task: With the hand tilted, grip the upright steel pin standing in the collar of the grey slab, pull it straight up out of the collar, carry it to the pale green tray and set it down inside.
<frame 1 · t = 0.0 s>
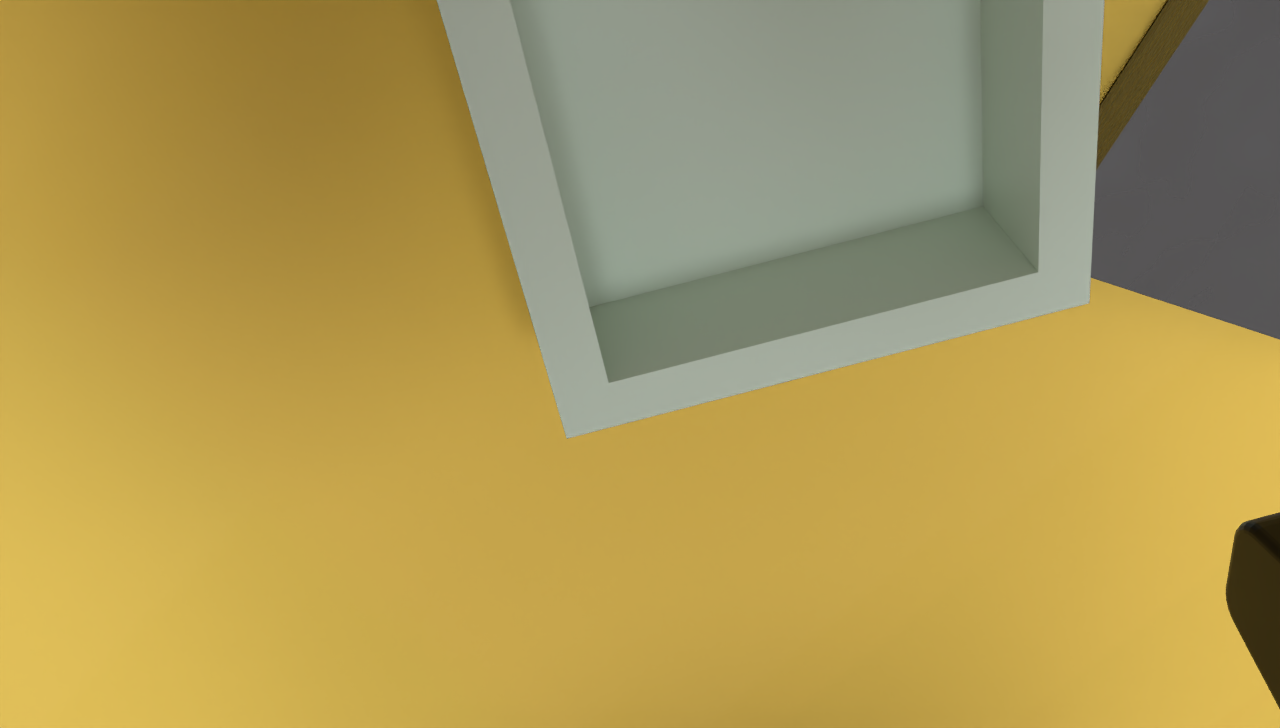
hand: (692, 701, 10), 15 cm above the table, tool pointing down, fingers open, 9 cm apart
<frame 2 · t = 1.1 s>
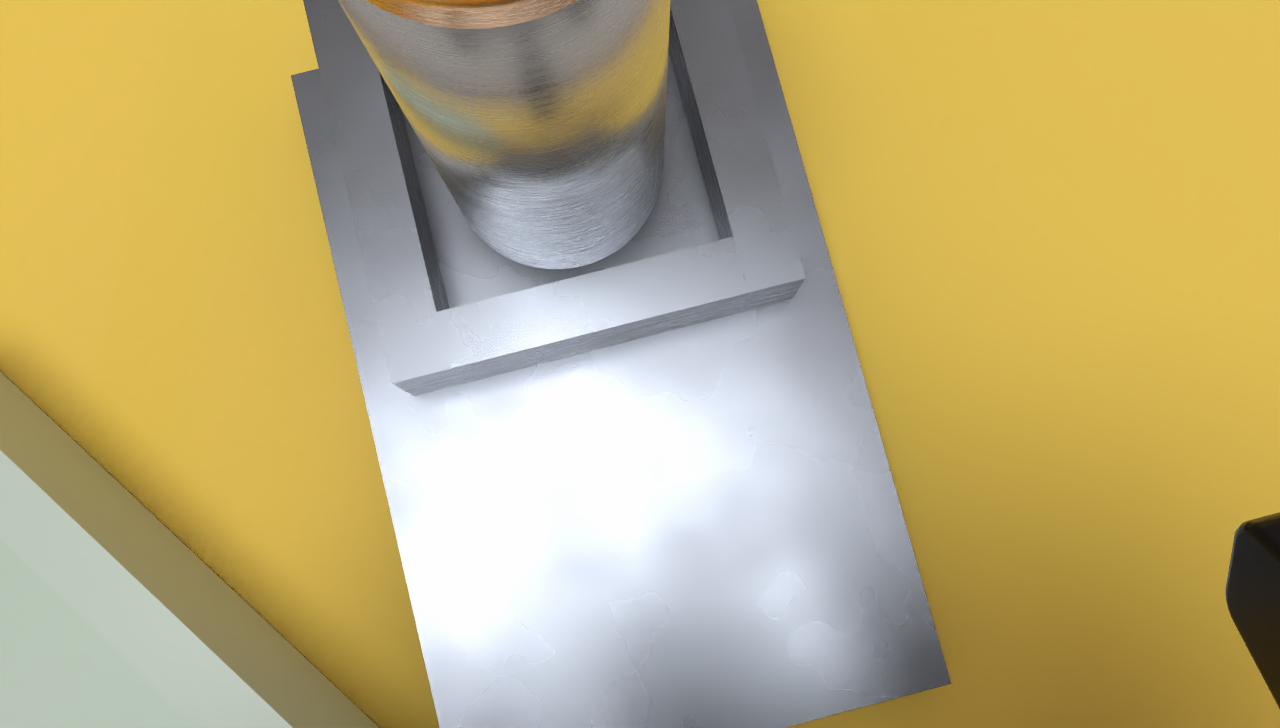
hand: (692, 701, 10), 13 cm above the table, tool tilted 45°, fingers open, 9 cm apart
grey slab: (560, 180, 24), on the table
pin: (557, 165, 23), point 1 cm above the table, touching grey slab
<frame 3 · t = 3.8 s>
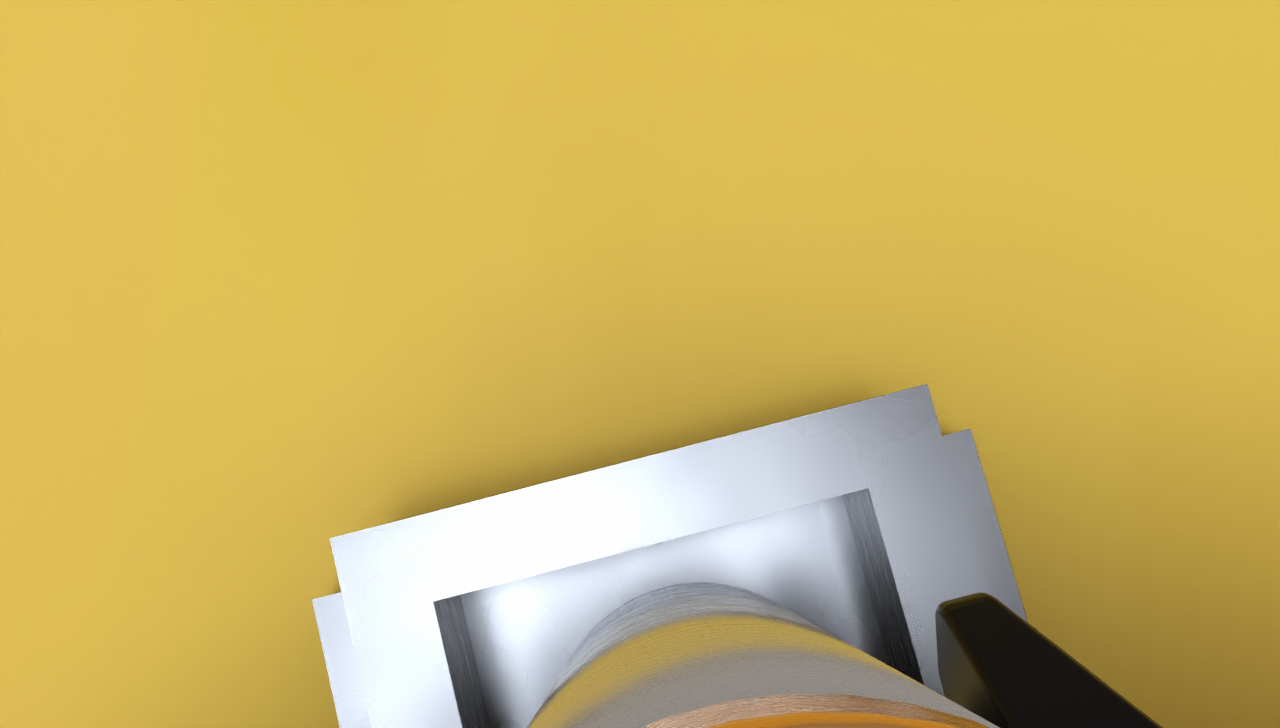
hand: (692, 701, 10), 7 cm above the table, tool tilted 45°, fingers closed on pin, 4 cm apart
grey slab: (698, 727, 17), on the table
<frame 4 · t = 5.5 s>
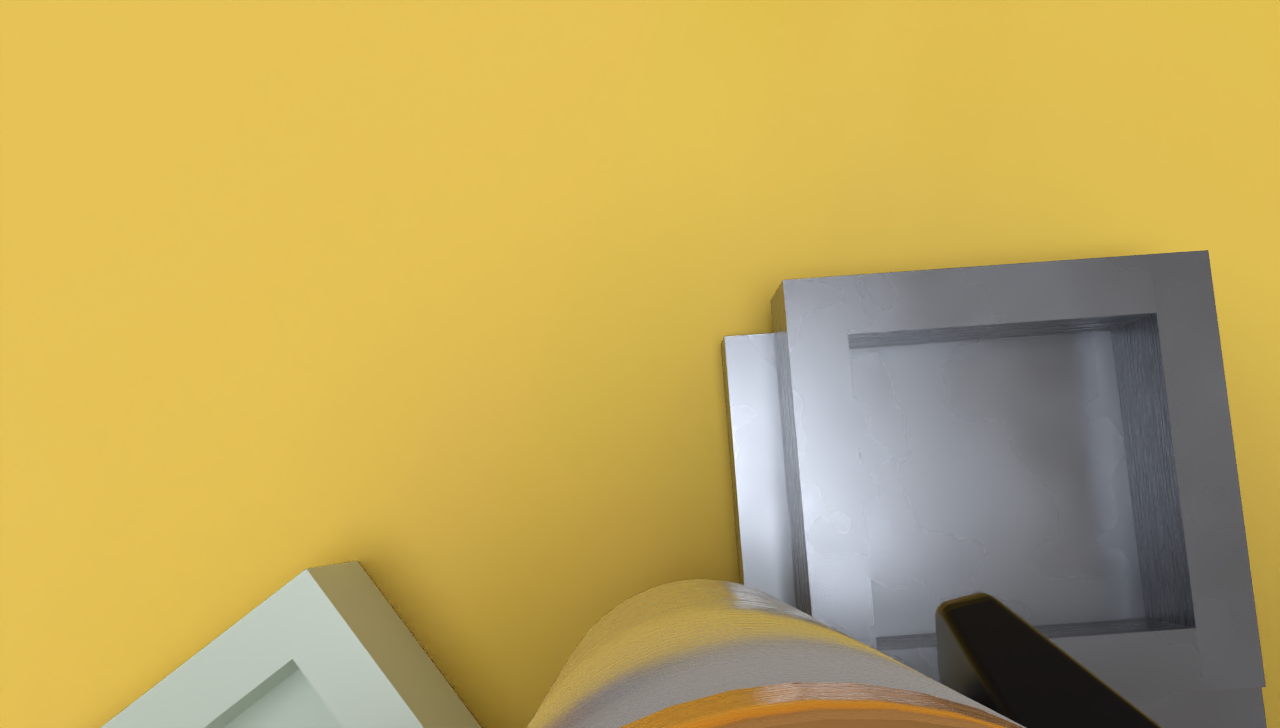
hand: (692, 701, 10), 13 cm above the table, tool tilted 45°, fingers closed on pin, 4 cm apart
grey slab: (970, 483, 23), on the table
when the fingers open (9 cm above the table, at t = 7.2 s): pin drops 1 cm, resting on tray.
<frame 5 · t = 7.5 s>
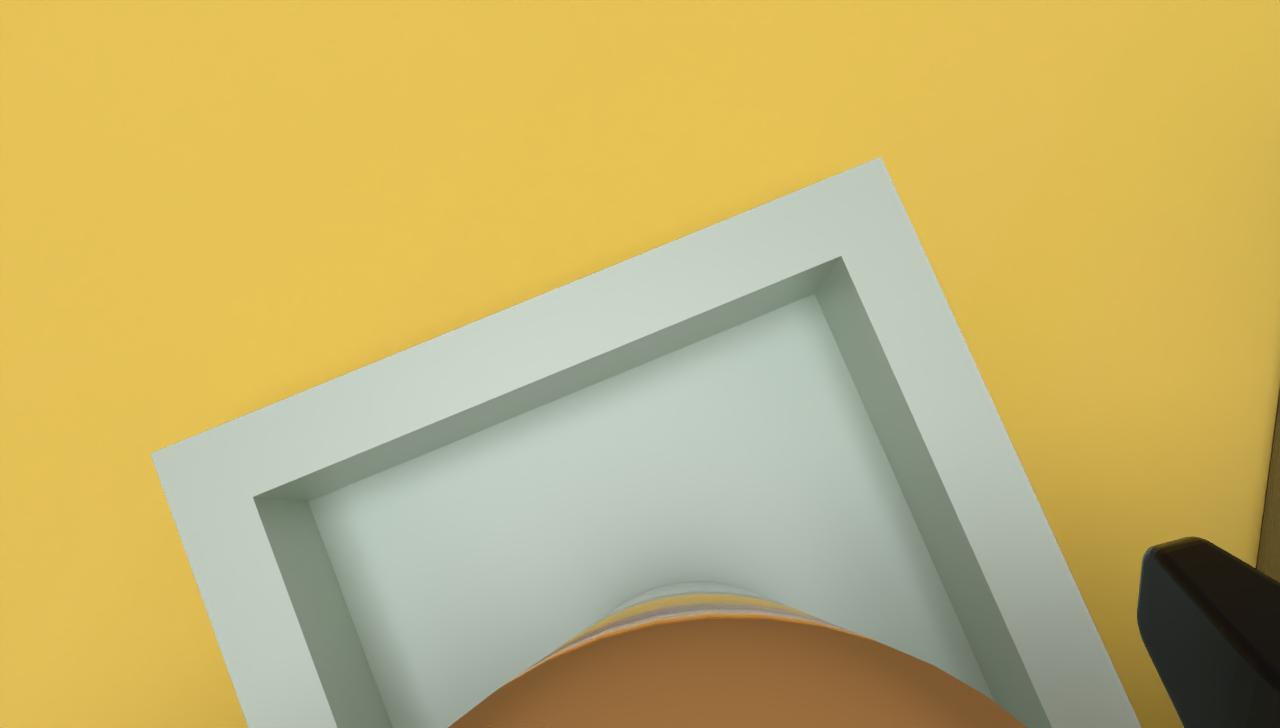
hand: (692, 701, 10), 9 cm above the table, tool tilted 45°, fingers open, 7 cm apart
tray: (693, 711, 18), on the table
pin: (699, 725, 17), point 1 cm above the table, touching tray
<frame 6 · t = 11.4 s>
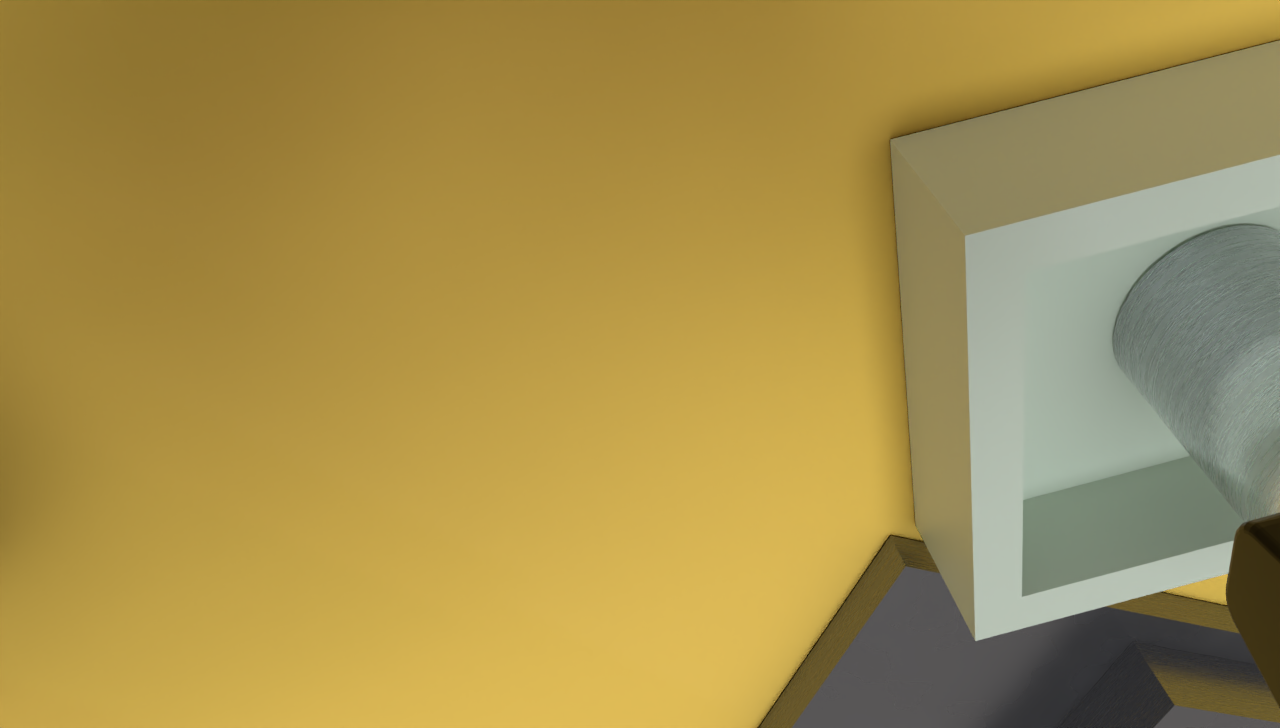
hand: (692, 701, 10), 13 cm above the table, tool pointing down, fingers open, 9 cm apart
tray: (1183, 283, 25), on the table
grey slab: (1137, 718, 34), on the table
pin: (1209, 312, 24), point 1 cm above the table, touching tray
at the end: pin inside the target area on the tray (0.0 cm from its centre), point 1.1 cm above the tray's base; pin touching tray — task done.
